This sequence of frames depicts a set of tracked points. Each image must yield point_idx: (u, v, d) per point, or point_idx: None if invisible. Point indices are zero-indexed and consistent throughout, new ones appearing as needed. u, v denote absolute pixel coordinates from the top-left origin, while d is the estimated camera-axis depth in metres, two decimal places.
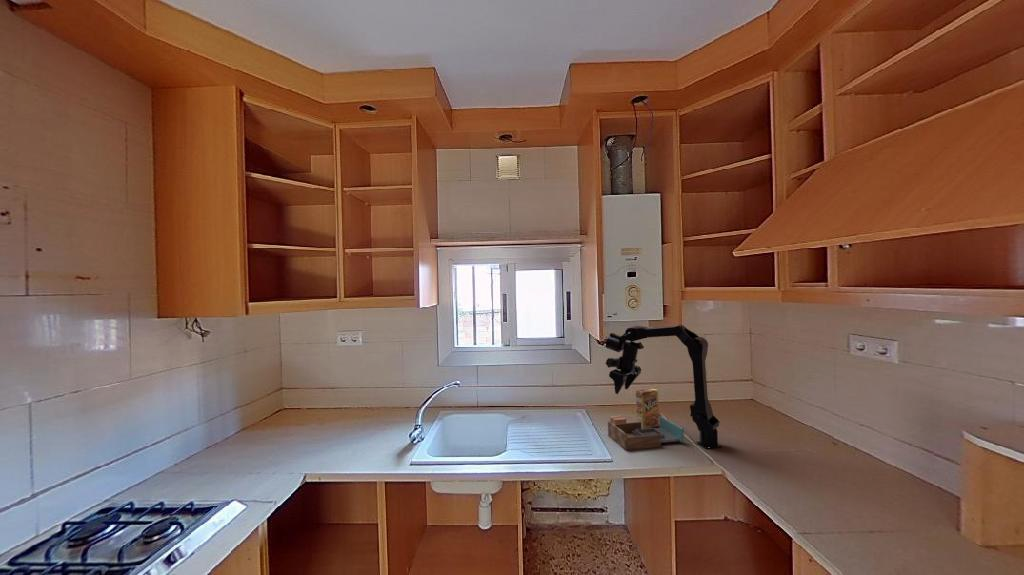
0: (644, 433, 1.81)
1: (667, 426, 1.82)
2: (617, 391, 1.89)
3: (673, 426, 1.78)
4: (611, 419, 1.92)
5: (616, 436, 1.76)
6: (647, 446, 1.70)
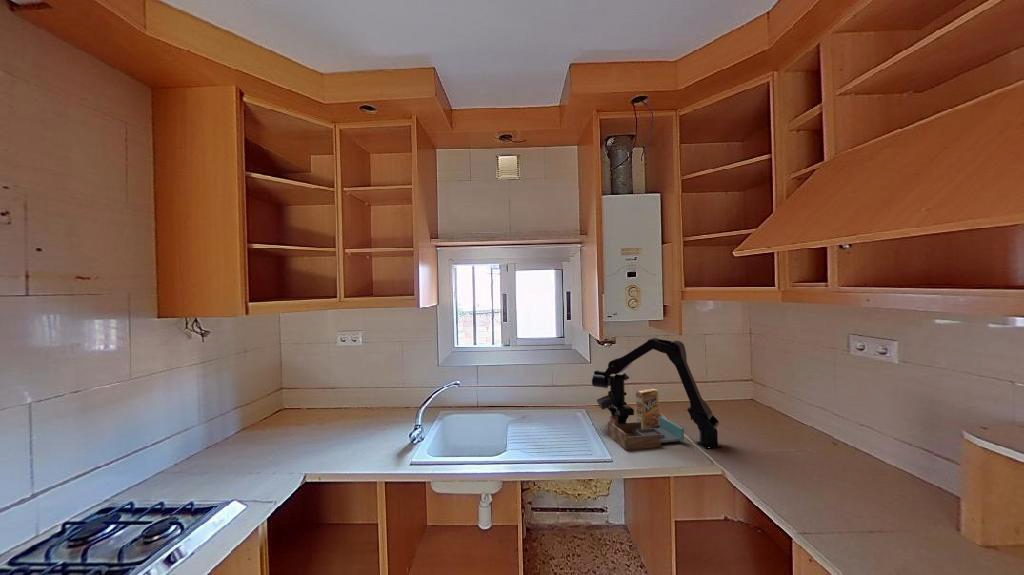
0: (644, 433, 1.81)
1: (667, 426, 1.82)
2: None
3: (673, 426, 1.78)
4: (611, 419, 1.92)
5: (616, 436, 1.76)
6: (647, 446, 1.70)
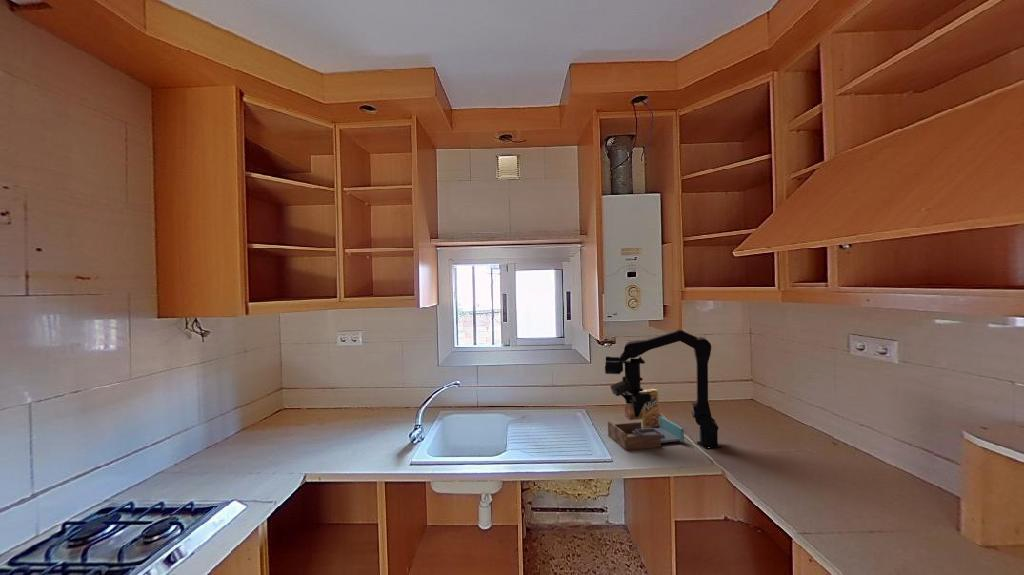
0: (644, 433, 1.81)
1: (667, 426, 1.82)
2: (638, 413, 1.76)
3: (673, 426, 1.78)
4: (626, 406, 1.79)
5: (616, 436, 1.76)
6: (647, 446, 1.70)
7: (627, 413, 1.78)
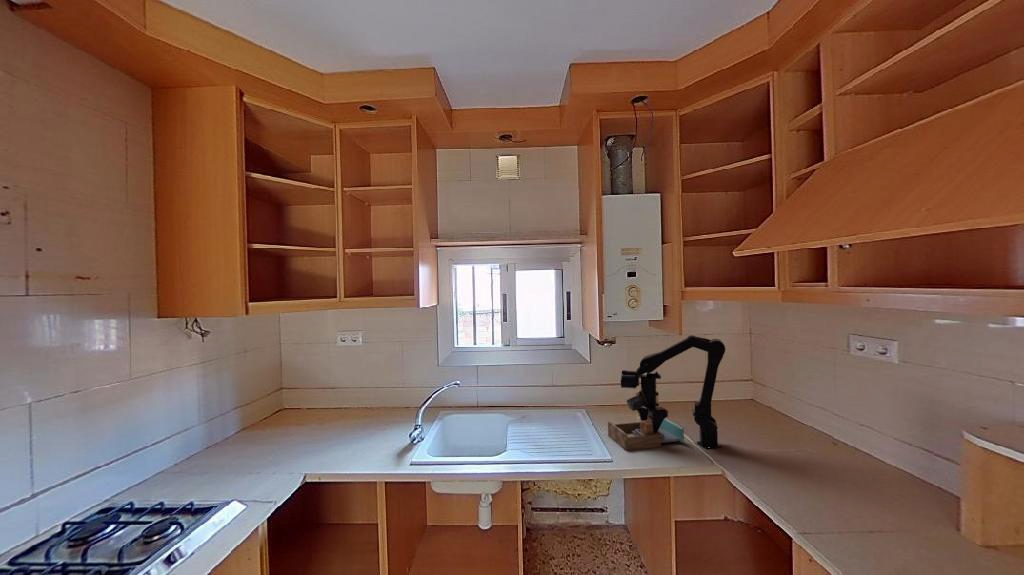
0: None
1: (667, 426, 1.82)
2: (656, 430, 1.74)
3: (673, 426, 1.78)
4: (642, 424, 1.79)
5: (616, 436, 1.76)
6: (647, 446, 1.70)
7: (643, 431, 1.78)
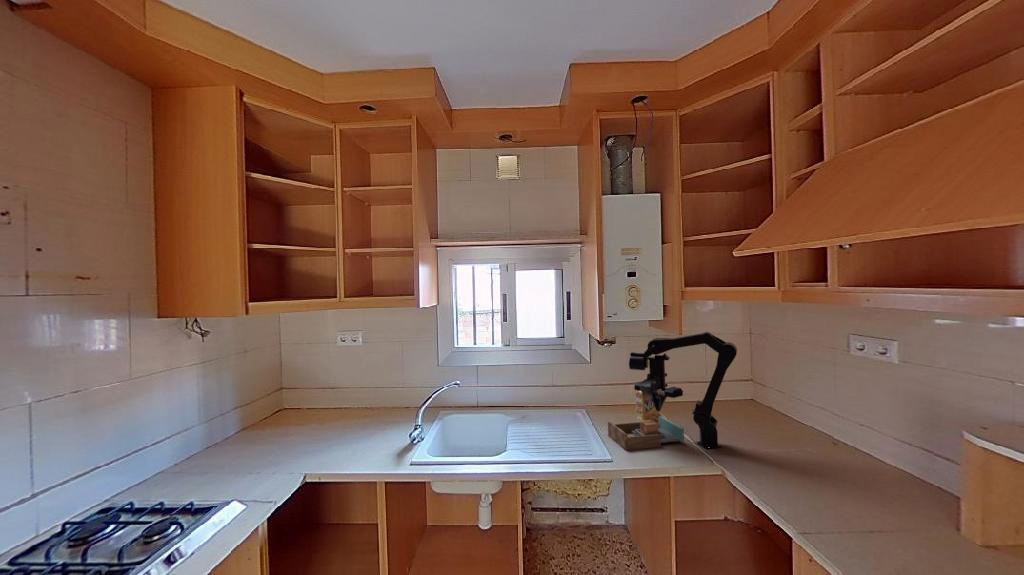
0: None
1: (667, 426, 1.82)
2: (660, 408, 1.79)
3: (673, 426, 1.78)
4: (642, 424, 1.79)
5: (616, 436, 1.76)
6: (647, 446, 1.70)
7: (643, 431, 1.78)
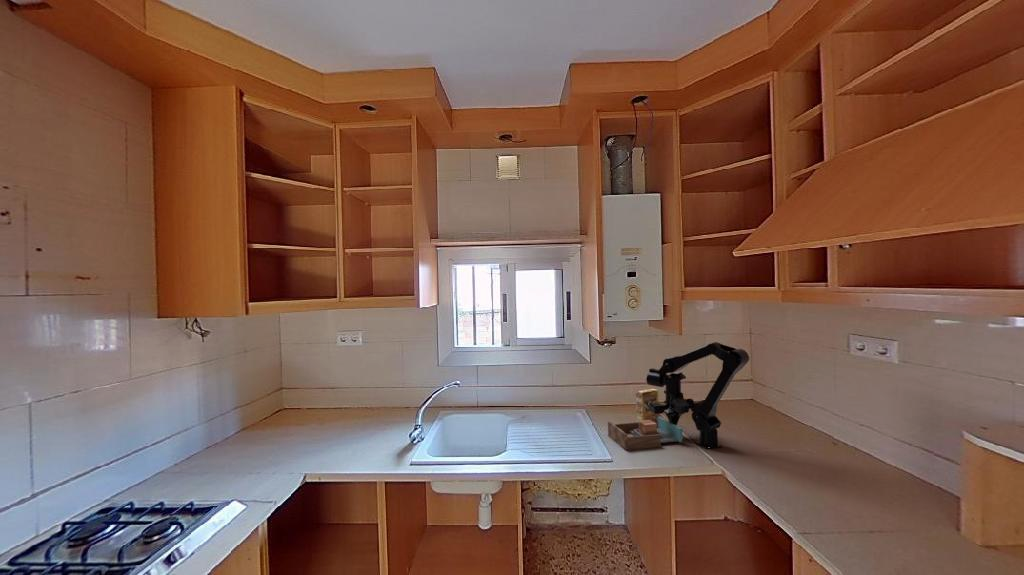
0: None
1: (665, 426, 1.82)
2: None
3: (671, 426, 1.78)
4: (640, 424, 1.79)
5: (616, 436, 1.76)
6: (647, 446, 1.70)
7: (641, 431, 1.78)
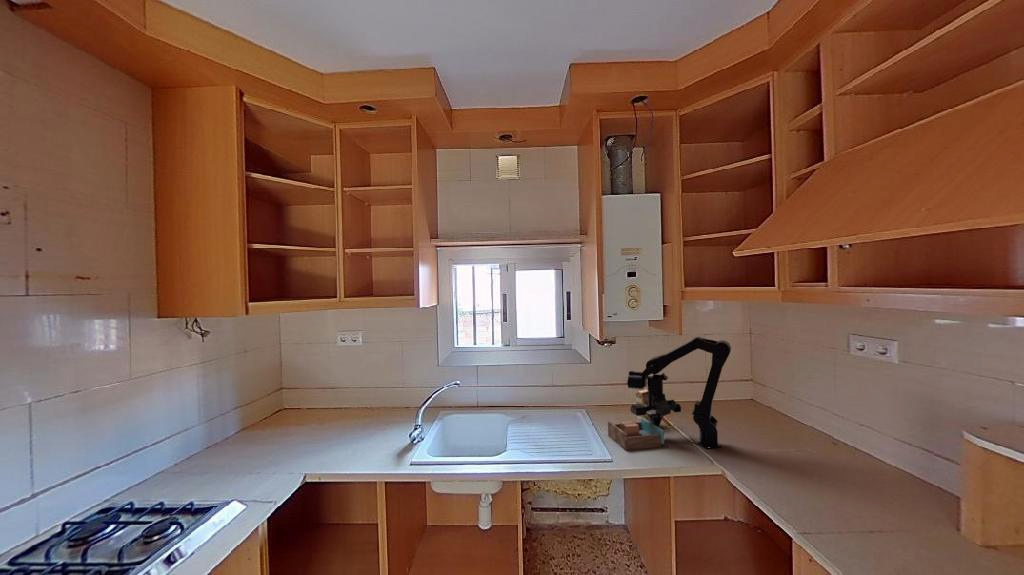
0: None
1: (648, 428, 1.81)
2: None
3: (654, 428, 1.76)
4: (622, 425, 1.78)
5: (616, 436, 1.76)
6: (647, 446, 1.70)
7: None
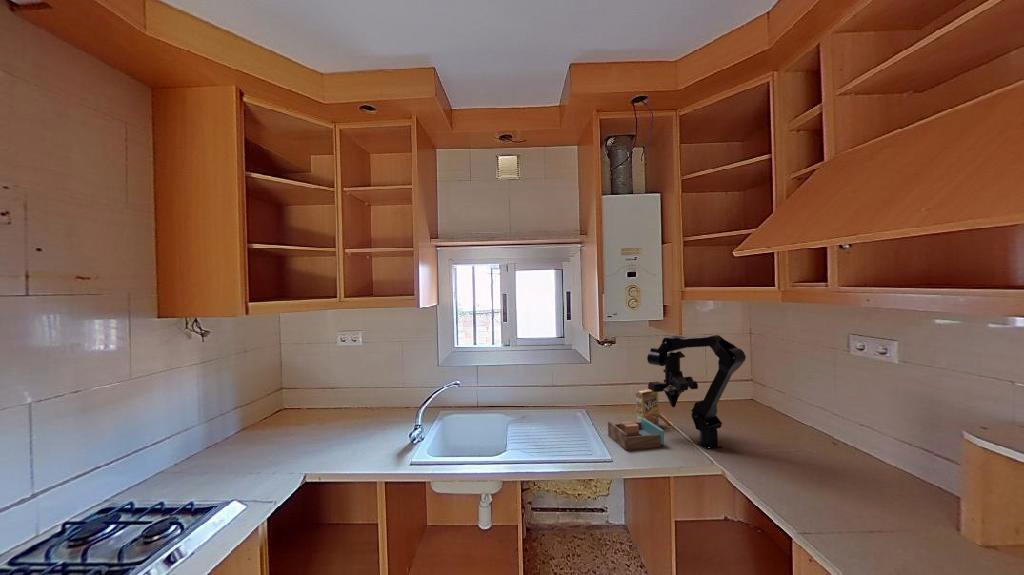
0: None
1: (648, 428, 1.81)
2: None
3: (654, 428, 1.76)
4: (622, 425, 1.78)
5: (616, 436, 1.76)
6: (647, 446, 1.70)
7: None
